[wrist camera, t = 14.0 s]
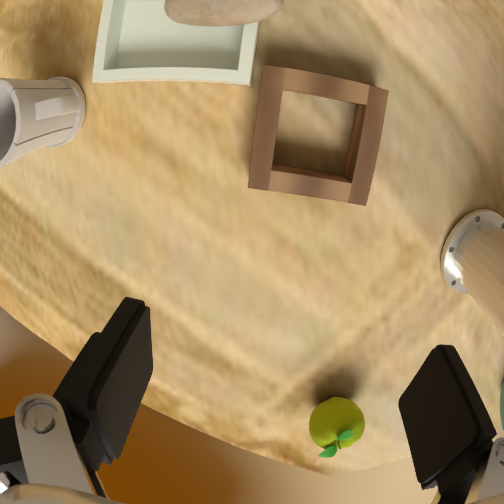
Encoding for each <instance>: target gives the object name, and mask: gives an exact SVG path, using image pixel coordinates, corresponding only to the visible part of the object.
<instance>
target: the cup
mask: <svg viewBox="0 0 504 504" xmlns="http://www.w3.org/2000/svg"><path fill="white" fill-rule="evenodd" d="M85 107H86V104H85V99H84V94H83V92H82V90H81V88H80V86H79V85H78V84H77V83H76V82H75V81H74V80H73V79H70V78H67V77H51V78H49V79H47V80H27V79H10V78H0V168H1V167H3V166H5V165H7V164H9V163H11V162H13V161H14V160H16V159H18V158H20V157H22V156H24V155H27V154H29V153H31V152H33V151H36V150H39V149H41V148H44V147H51V148H55V147H58V146H61V145H64V144H66V143H68V142H69V141H71V140H72V139H73V138H74V137H75V136H76V135H77V133H78V131H79V130H80V128H81V126H82V123H83V120H84V117H85Z"/></svg>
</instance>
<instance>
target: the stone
mask: <svg viewBox="0 0 504 504" xmlns="http://www.w3.org/2000/svg"><path fill="white" fill-rule="evenodd" d="M283 2H284V0H165V4H164V10H165V12H166V15H167V16H168V17H169V18H170V19H171V20H173V21H175V22H177V23H180V24H186V25H194V26H209V27H222V26H236V25H245V24H250V23H254V22H258V21H262V20H264V19H267V18H269V17H271V16H272V15H274V14H275V13H276V12H278V11H279V9H280V8H281V6H282V4H283Z"/></svg>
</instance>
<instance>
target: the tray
mask: <svg viewBox="0 0 504 504" xmlns="http://www.w3.org/2000/svg"><path fill="white" fill-rule="evenodd" d="M164 4H165V0H104V2H103V7H102V12H101V18H100V24H99V30H98V36H97V43H96V51H95V59H94V68H93V78H92V82H100V83H114V82H137V81H184V82H208V83H223V84H235V85H245V86H251V85H252V77H253V69H254V62H255V54H256V47H257V40H258V33H259V25H260V21H258V22H254V23H250V24H245V25H236V26H222V27H209V26H194V25H186V24H180V23H177V22H175V21H173V20H171V19H170V18H169V17H168V16H167V15H166V12H165V10H164Z"/></svg>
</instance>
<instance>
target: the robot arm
mask: <svg viewBox="0 0 504 504" xmlns="http://www.w3.org/2000/svg"><path fill="white" fill-rule="evenodd" d="M441 272H442V275H443V278H444V280H445V281H446V283H447V284H448V285H449V287H450V288H452V289H453V290H454V291H457V292H459V293H470V295H471V296H472V297H473V298H474V300H475V301H476V302H477V303H478V305H479V306H480V307H481V308H482V310H483V311H484V312H485V313H486V315H487V316H488V317H489V319H490V320H491V321H492V322H493V324H494V325H495V326H496V328H497V329H498V331H499V332H500V333H501V335H502V336H503V337H504V218H503V217H502V216H500V215H499V214H498V213H496V212H495V211H492V210H489V209H479V210H475V211H473V212H471V213H469V214H468V215H466V216H465V217H463V218H462V219H461V220H460V221H459V222H458V223H457V224H456V225H455V227H454V228H453V229H452V231H451V232H450V234H449V236H448V238H447V239H446V242H445V244H444V247H443V251H442V255H441ZM152 372H153V357H152V342H151V322H150V308H149V307H147V306H145V303H144V301H142V300H138V299H134V298H129V297H125V298H124V299H123V301H122V302H121V304H120V305H119V307H118V308H117V310H116V311H115V313H114V314H113V316H112V317H111V318H110V320H109V321H108V323H107V324H106V326H105V327H104V329H103V331H102V332H101V333H99V332H95V333H93V334H92V336H91V337H90V338H89V340H88V341H87V343H86V344H85V346H84V347H83V349H82V350H81V352H80V353H79V355H78V356H77V358H76V360H75V361H74V363H73V364H72V366H71V367H70V369H69V371H68V372H67V374H66V375H65V377H64V378H63V380H62V382H61V383H60V385H59V387H58V388H57V390H56V391H55V393H54V395H53V396H52V397H51V396H49V395H46V394H33V395H30V396H27V397H26V398H25V399H23V400H22V401H21V402H20V403H19V405H18V406H17V409H16V411H15V416H11V417H7V418H3V419H0V504H125V503H121V502H117V501H114V500H111V499H109V498H108V496H107V494H106V492H105V490H104V488H103V486H102V484H101V481H100V479H99V477H98V475H97V472H96V471H97V470H99V467H100V465H101V462H104V463H107V464H110V465H111V463H112V461H113V458H116V459H118V458H119V457H120V455H121V452H122V450H123V447H124V444H125V441H126V439H127V436H128V434H129V431H130V429H131V426H132V423H133V421H134V418H135V416H136V413H137V411H138V408H139V405H140V403H141V400H142V398H143V395H144V393H145V390H146V388H147V385H148V383H149V381H150V378H151V375H152ZM399 410H400V413H401V417H402V420H403V424H404V428H405V431H406V435H407V439H408V443H409V447H410V451H411V455H412V459H413V463H414V467H415V472H416V476H417V480H418V482H419V483H421V487H422V490H424V489H429V488H434V487H435V486H437V485H438V491H437V493H436V495H435V497H434V499H433V501H432V503H431V504H504V431H503V433H502V435H501V436H500V438H498V439H496V440H495V441H494V442H492V439H493V438H494V437H495V436H496V435H497V433H496V430H495V428H494V426H493V423H492V421H491V419H490V417H489V414H488V412H487V410H486V408H485V406H484V403H483V401H482V399H481V397H480V395H479V393H478V391H477V389H476V387H475V385H474V383H473V381H472V379H471V377H470V375H469V373H468V371H467V369H466V367H465V365H464V364H463V362H462V360H461V358H460V356H459V354H458V352H457V351H456V349H455V347H454V346H452V345H437V346H436V347H435V349H432V351H431V352H430V354H429V355H428V357H427V358H426V360H425V362H424V363H423V365H422V366H421V368H420V369H419V371H418V372H417V374H416V375H415V377H414V378H413V380H412V381H411V383H410V384H409V386H408V387H407V388H406V390H405V391H404V393H403V394H402V395H401V397H400V399H399Z"/></svg>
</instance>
